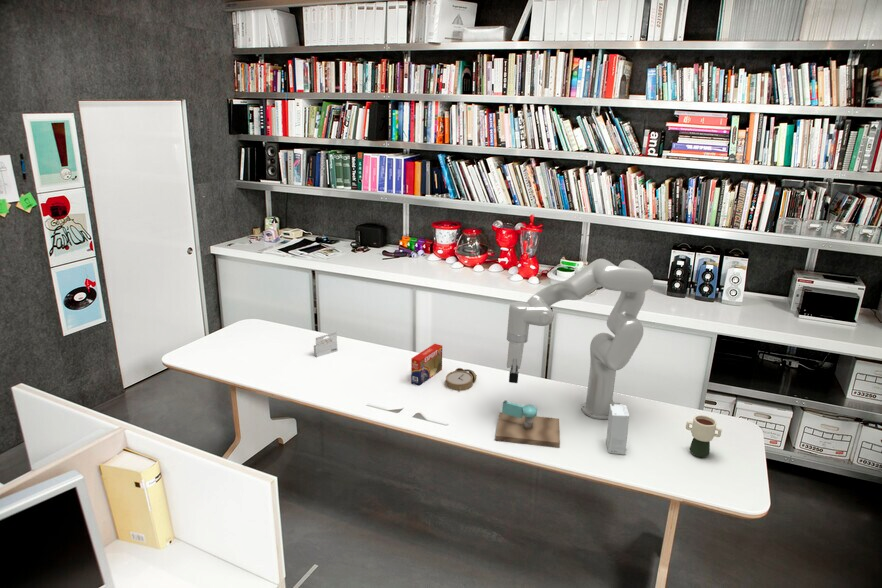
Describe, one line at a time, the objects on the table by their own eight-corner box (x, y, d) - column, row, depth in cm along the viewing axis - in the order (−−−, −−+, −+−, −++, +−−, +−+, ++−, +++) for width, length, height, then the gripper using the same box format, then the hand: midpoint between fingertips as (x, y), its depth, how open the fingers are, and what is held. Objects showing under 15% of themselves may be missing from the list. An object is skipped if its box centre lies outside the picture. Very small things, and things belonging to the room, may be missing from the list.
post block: (558, 423, 219) (560, 406, 216) (559, 447, 204) (561, 430, 201) (499, 417, 222) (500, 400, 220) (495, 440, 207) (496, 423, 205)
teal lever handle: (537, 418, 212) (538, 406, 211) (533, 424, 208) (534, 412, 206) (505, 409, 218) (506, 397, 216) (500, 415, 213) (501, 403, 212)
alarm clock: (440, 380, 243) (458, 361, 254) (441, 390, 245) (459, 371, 256) (463, 387, 238) (481, 368, 249) (464, 397, 240) (482, 377, 251)
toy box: (419, 386, 244) (419, 360, 240) (411, 383, 246) (411, 358, 242) (442, 369, 259) (442, 345, 255) (434, 367, 261) (434, 343, 257)
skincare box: (625, 455, 200) (631, 416, 195) (607, 453, 201) (612, 415, 196) (622, 441, 208) (627, 404, 203) (604, 439, 209) (609, 402, 204)
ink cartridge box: (313, 355, 270) (312, 336, 267) (335, 349, 277) (334, 330, 273) (316, 357, 268) (315, 337, 265) (337, 351, 275) (337, 331, 272)
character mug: (716, 452, 203) (723, 419, 198) (715, 463, 197) (722, 429, 192) (682, 444, 207) (688, 411, 203) (680, 454, 201) (686, 421, 197)
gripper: (508, 327, 219) (504, 371, 225) (505, 343, 205) (501, 390, 211) (528, 329, 218) (524, 374, 224) (527, 345, 204) (522, 392, 210)
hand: (513, 381), depth 218 cm, fingers closed
